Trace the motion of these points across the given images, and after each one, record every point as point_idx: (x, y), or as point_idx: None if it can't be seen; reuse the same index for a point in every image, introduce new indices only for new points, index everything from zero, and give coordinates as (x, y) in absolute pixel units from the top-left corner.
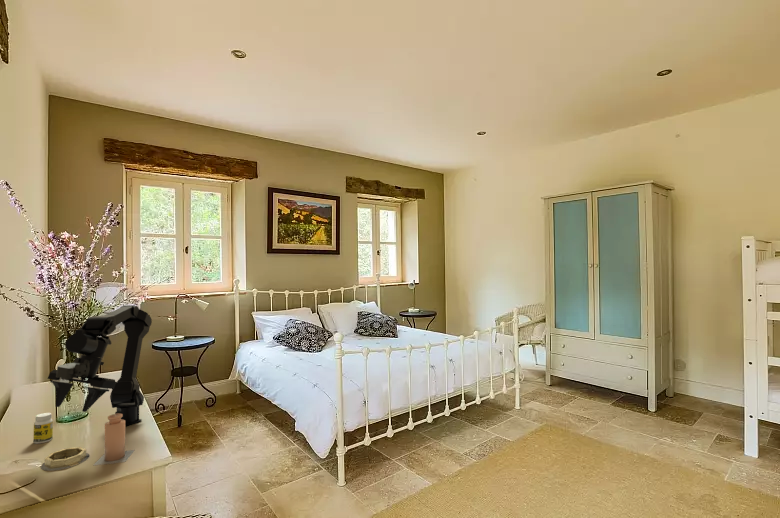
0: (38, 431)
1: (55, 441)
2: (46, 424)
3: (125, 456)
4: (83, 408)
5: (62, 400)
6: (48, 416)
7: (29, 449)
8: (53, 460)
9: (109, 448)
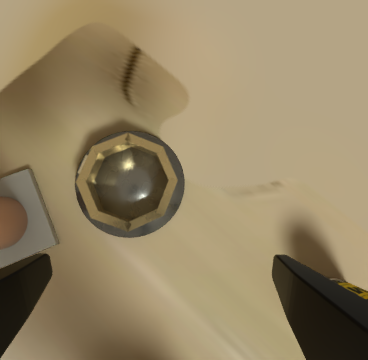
0: (357, 294)
1: None
2: None
3: None
4: (27, 262)
5: (295, 322)
6: None
7: (310, 242)
8: (125, 138)
9: None
